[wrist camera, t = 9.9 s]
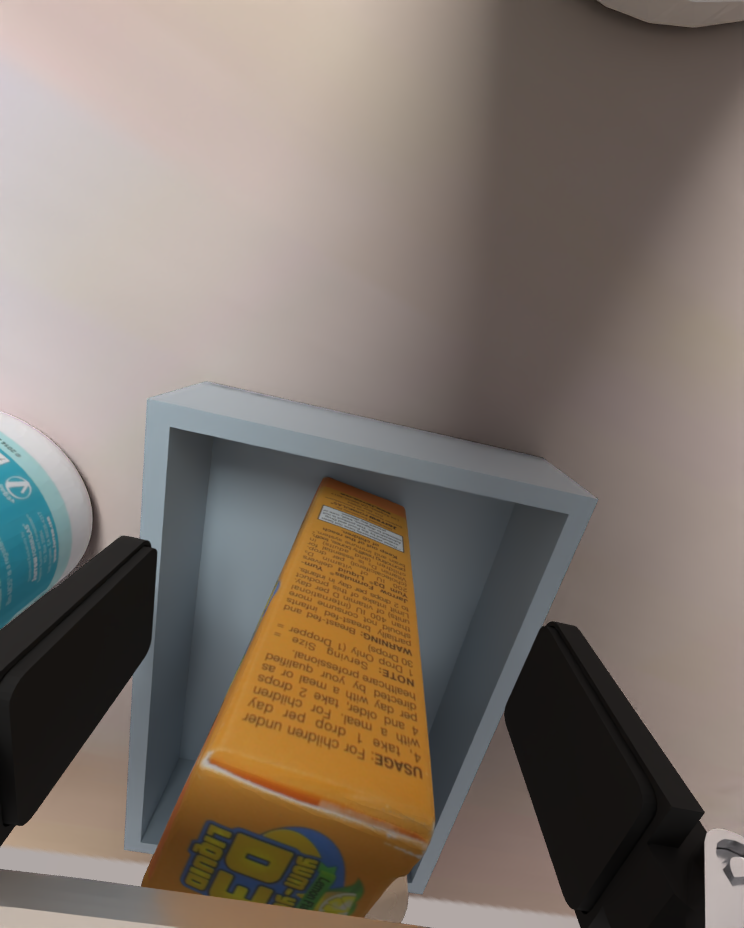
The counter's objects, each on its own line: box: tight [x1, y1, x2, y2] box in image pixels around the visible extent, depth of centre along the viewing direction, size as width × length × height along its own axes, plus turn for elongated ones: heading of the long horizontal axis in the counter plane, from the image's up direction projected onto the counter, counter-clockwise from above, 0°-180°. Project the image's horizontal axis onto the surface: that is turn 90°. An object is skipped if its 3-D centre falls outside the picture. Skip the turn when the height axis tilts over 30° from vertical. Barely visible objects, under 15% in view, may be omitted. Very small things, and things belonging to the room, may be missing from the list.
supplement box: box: [141, 476, 435, 918], centre depth 10 cm, size 3×3×10 cm
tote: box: [124, 381, 598, 894], centre depth 15 cm, size 18×12×4 cm, turn 167°
